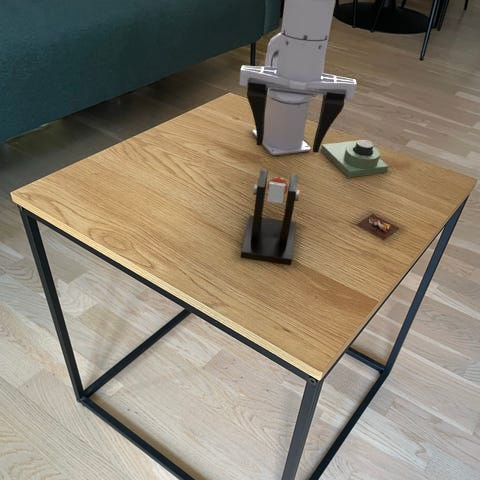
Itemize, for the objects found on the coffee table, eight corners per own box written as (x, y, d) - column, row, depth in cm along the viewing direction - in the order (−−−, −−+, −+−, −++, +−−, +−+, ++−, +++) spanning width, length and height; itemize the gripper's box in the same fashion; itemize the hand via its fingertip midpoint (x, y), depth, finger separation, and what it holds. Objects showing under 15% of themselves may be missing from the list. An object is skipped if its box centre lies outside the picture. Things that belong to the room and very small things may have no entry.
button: (350, 149, 87) (353, 140, 86) (365, 148, 88) (367, 138, 87) (359, 157, 86) (362, 148, 84) (374, 156, 86) (377, 146, 85)
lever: (266, 195, 75) (269, 174, 74) (286, 198, 75) (289, 177, 74) (262, 203, 65) (266, 180, 63) (285, 207, 64) (289, 183, 63)
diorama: (382, 235, 74) (386, 223, 73) (361, 224, 76) (365, 212, 74) (392, 228, 76) (396, 216, 74) (372, 217, 78) (376, 205, 76)
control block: (320, 150, 92) (323, 135, 90) (357, 146, 94) (361, 130, 92) (348, 177, 86) (352, 161, 84) (386, 172, 88) (391, 156, 86)
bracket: (248, 220, 74) (255, 160, 67) (295, 227, 74) (306, 167, 67) (240, 257, 68) (246, 194, 61) (291, 265, 68) (303, 202, 61)
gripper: (240, 34, 56) (231, 150, 65) (368, 50, 56) (341, 165, 65) (247, 22, 62) (237, 131, 71) (363, 36, 61) (339, 144, 70)
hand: (287, 146), depth 68 cm, fingers open, 7 cm apart
